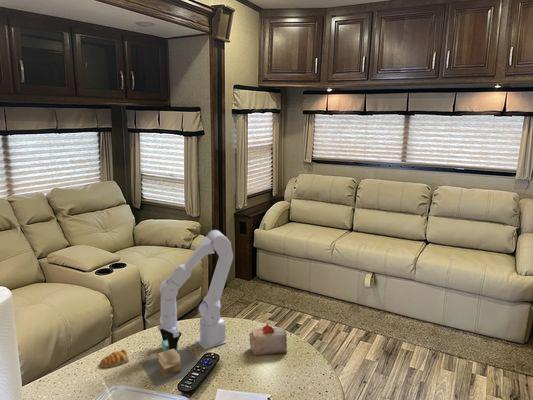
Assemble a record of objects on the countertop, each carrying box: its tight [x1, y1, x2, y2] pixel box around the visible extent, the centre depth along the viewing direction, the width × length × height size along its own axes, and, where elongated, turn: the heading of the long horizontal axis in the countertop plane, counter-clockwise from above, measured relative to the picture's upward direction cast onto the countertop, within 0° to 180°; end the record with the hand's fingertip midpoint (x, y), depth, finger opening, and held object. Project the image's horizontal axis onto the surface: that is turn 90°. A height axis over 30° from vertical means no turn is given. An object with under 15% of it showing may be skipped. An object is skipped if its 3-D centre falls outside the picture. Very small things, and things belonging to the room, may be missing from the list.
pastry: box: [99, 348, 130, 369], centre depth 143 cm, size 9×7×4 cm
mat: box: [140, 348, 200, 388], centre depth 142 cm, size 18×16×1 cm
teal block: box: [161, 340, 179, 352], centre depth 152 cm, size 4×4×4 cm
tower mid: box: [158, 349, 180, 369], centre depth 138 cm, size 6×6×3 cm
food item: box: [248, 323, 288, 356], centre depth 152 cm, size 14×8×10 cm, turn 101°
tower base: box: [158, 361, 181, 378], centre depth 139 cm, size 6×6×3 cm
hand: (169, 346), depth 152 cm, fingers open, 6 cm apart
